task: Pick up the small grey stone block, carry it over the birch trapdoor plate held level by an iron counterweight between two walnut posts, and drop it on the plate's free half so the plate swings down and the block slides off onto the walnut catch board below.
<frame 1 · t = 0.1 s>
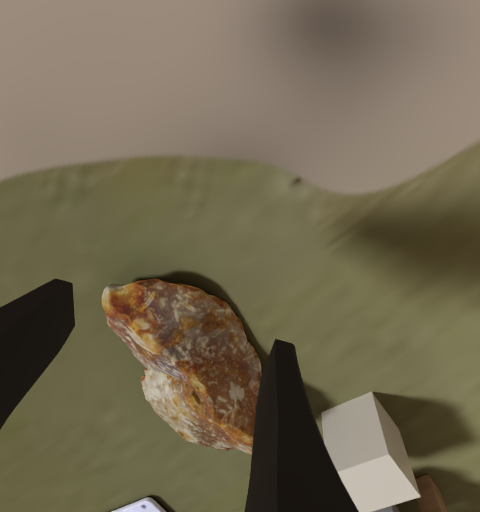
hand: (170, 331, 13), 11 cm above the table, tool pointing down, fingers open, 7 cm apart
decorative stone: (192, 348, 27), on the table
stone block: (366, 450, 25), point 2 cm above the table
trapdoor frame: (348, 509, 31), on the table
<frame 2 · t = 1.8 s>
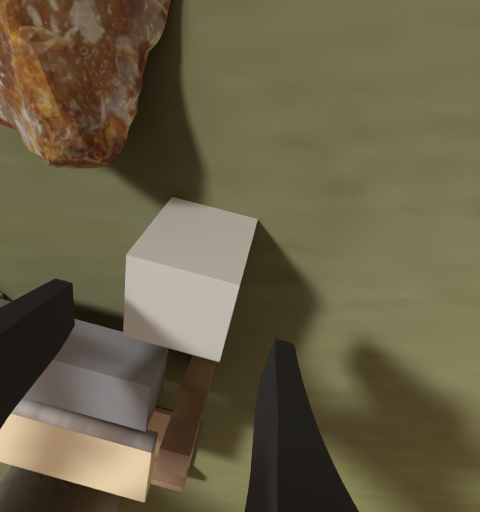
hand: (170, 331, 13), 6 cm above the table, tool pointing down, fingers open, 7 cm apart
stone block: (194, 273, 16), point 2 cm above the table
pillar candle: (75, 470, 33), on the table
trapdoor: (56, 402, 19), point 5 cm above the table, hinge at 0.0°
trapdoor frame: (98, 331, 22), on the table
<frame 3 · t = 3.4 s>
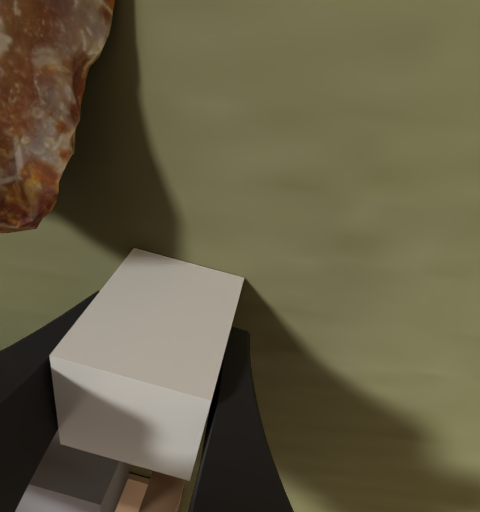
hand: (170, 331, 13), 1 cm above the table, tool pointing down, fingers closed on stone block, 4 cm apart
stone block: (159, 354, 12), point 2 cm above the table, touching gripper
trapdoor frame: (58, 393, 19), on the table
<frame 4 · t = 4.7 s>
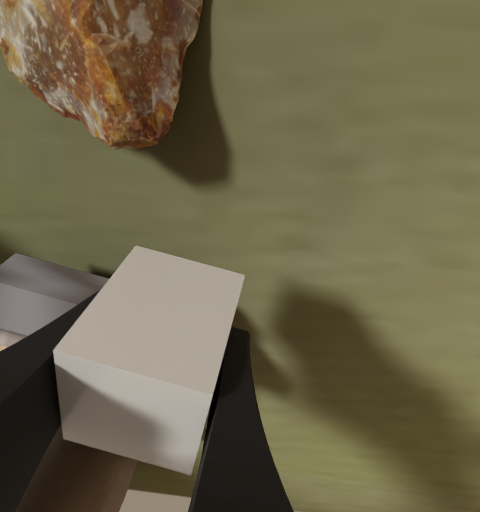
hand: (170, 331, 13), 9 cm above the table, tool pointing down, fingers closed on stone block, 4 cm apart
stone block: (161, 350, 12), point 10 cm above the table, touching gripper
pillar candle: (95, 435, 36), on the table
trapdoor: (91, 354, 22), point 5 cm above the table, hinge at 0.0°
when the fingers open (9 cm above the table, at t = 6.5 s): stone block drops 4 cm and tips over, resting on trapdoor.
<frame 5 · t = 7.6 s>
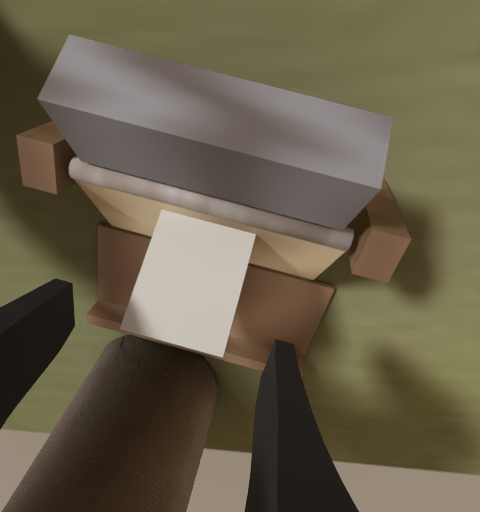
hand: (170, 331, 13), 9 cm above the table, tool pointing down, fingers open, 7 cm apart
stone block: (194, 289, 16), point 6 cm above the table, tilted 41°, touching trapdoor
pillar candle: (159, 376, 30), on the table
trapdoor: (218, 189, 15), point 4 cm above the table, hinge at -40.5°, touching stone block
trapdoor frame: (235, 159, 19), on the table
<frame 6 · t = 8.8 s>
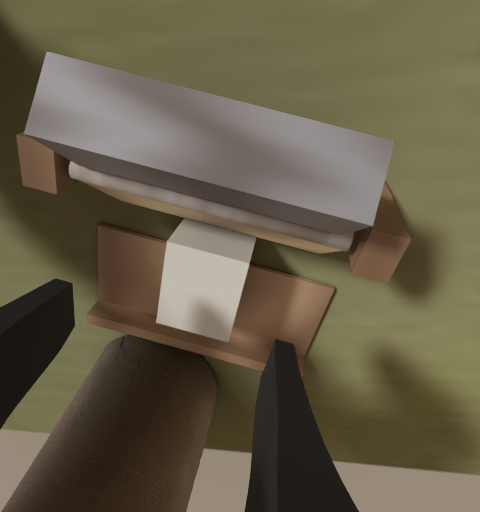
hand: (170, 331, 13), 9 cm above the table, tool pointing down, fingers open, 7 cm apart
stone block: (208, 274, 20), point 2 cm above the table, tilted 86°, touching trapdoor, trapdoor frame
pillar candle: (159, 376, 30), on the table
trapdoor: (218, 182, 15), point 4 cm above the table, hinge at -55.6°, touching stone block
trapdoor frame: (235, 159, 19), on the table
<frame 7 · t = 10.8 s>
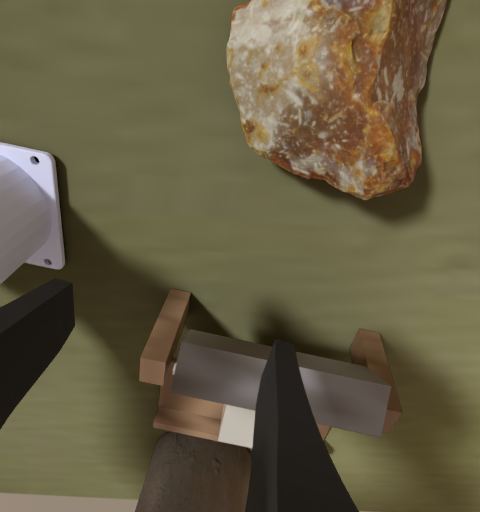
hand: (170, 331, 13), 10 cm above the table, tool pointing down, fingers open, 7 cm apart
decorative stone: (333, 11, 16), on the table
stone block: (253, 400, 27), point 2 cm above the table, tilted 86°, touching trapdoor, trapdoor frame
pillar candle: (203, 454, 36), on the table
trapdoor: (270, 366, 22), point 4 cm above the table, hinge at -55.6°, touching stone block
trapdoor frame: (271, 321, 26), on the table
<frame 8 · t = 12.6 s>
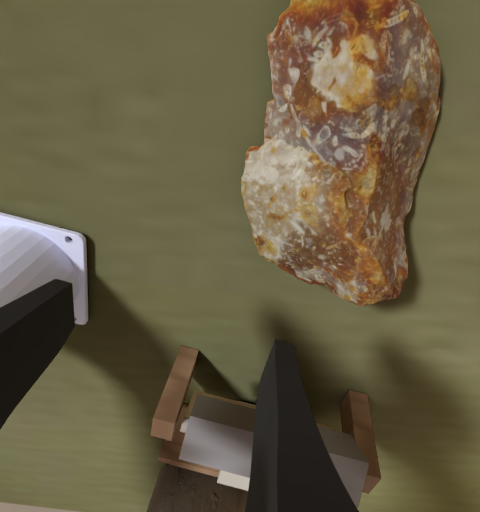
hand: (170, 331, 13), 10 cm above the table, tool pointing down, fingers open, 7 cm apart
decorative stone: (332, 146, 19), on the table
stone block: (250, 447, 30), point 2 cm above the table, tilted 86°, touching trapdoor, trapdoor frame
pillar candle: (203, 483, 39), on the table
trapdoor: (266, 426, 25), point 4 cm above the table, hinge at -55.6°, touching stone block
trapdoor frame: (270, 378, 29), on the table
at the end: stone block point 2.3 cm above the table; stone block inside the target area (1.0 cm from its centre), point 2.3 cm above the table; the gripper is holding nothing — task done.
